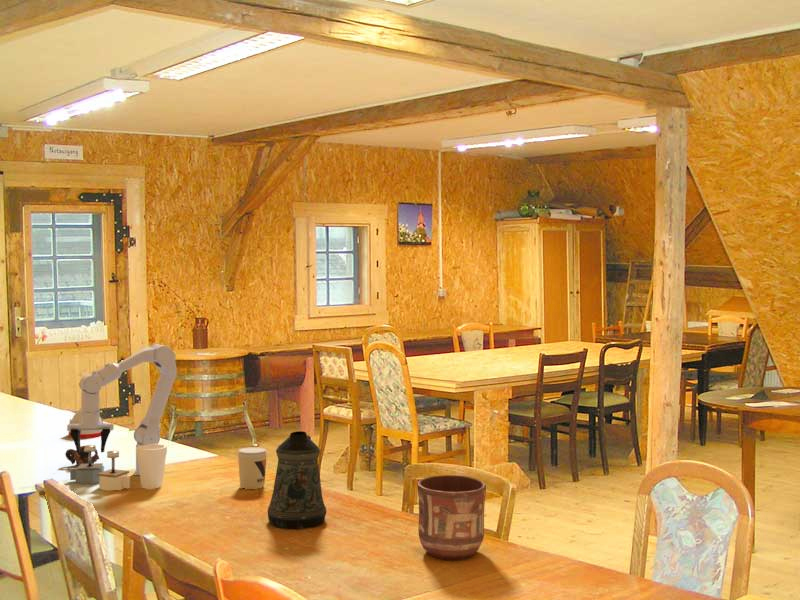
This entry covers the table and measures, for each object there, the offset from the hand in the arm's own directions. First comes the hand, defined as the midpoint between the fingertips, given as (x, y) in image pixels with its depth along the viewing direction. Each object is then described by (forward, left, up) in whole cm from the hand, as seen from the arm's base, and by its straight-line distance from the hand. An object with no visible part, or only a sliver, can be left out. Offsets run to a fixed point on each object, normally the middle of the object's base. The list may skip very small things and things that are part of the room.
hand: (90, 451), depth 315 cm
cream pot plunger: (-9, +12, -5) cm, 16 cm away
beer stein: (-66, +55, -10) cm, 86 cm away
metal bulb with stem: (0, +2, -5) cm, 5 cm away
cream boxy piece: (-9, +12, -9) cm, 18 cm away
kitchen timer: (+16, -79, -10) cm, 81 cm away
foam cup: (-21, +12, -10) cm, 26 cm away
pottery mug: (+7, -21, -10) cm, 24 cm away
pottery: (-104, +89, -10) cm, 137 cm away
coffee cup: (-53, +15, -10) cm, 56 cm away
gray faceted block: (0, +2, -9) cm, 9 cm away
